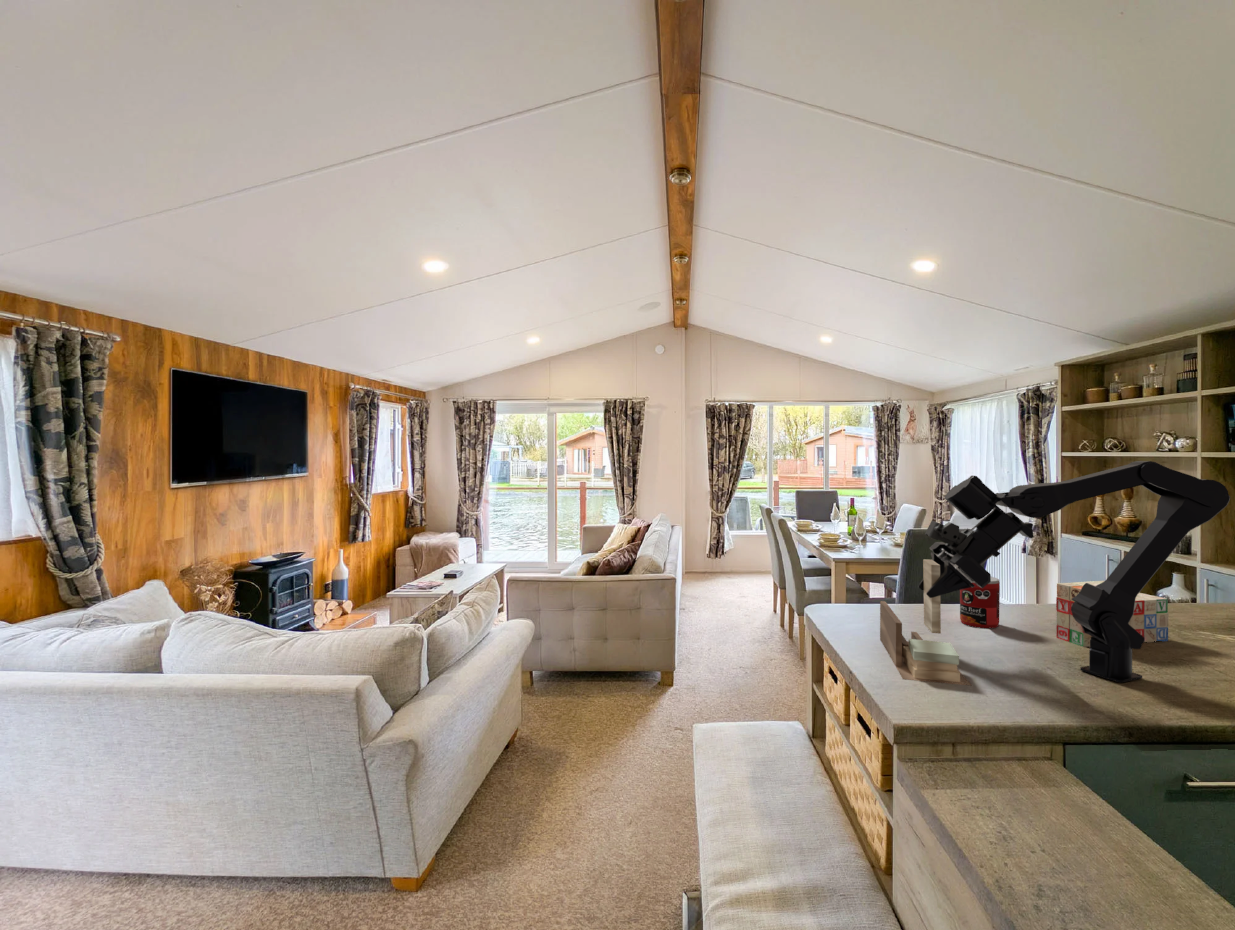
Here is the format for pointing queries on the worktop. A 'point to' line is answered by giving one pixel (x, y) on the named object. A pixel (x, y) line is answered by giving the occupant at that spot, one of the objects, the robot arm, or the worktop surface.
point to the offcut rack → (901, 644)
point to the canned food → (980, 605)
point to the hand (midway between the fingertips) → (923, 592)
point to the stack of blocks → (1145, 620)
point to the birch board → (931, 604)
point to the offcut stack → (932, 660)
